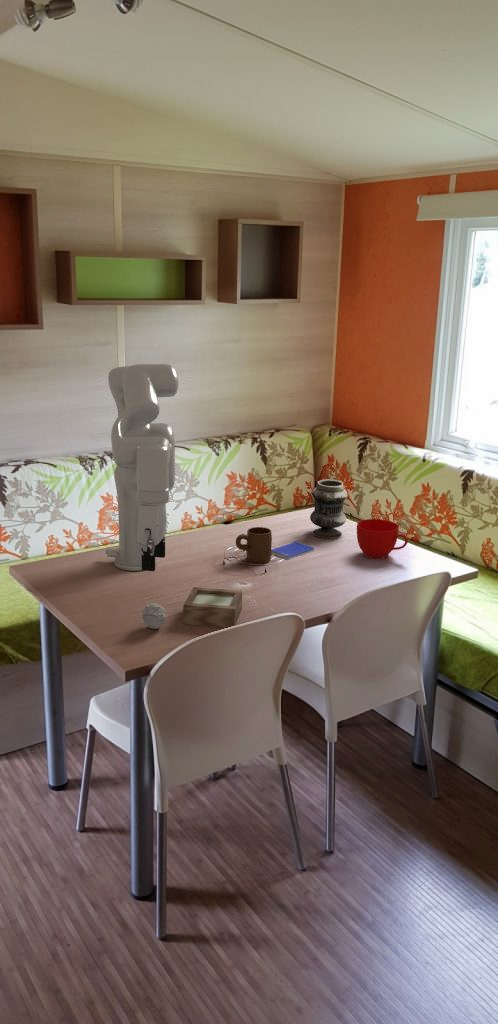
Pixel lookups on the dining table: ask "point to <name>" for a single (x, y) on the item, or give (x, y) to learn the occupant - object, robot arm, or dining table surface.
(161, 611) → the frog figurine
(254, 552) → the mug
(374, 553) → the ceramic cup
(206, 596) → the pedestal
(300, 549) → the hard drive
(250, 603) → the dining table surface
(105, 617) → the dining table surface
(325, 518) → the apothecary jar
